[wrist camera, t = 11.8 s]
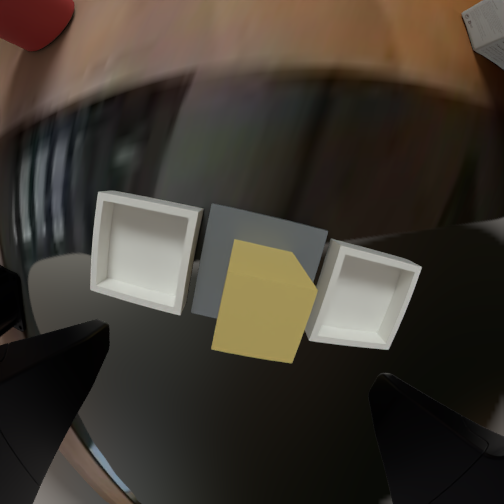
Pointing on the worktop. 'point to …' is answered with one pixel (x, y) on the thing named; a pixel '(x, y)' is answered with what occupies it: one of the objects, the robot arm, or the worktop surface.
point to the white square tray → (360, 296)
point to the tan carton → (263, 303)
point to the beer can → (33, 21)
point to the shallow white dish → (144, 250)
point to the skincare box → (487, 29)
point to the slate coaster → (254, 231)
